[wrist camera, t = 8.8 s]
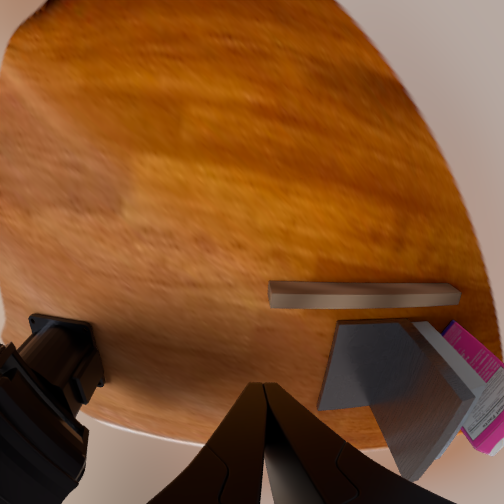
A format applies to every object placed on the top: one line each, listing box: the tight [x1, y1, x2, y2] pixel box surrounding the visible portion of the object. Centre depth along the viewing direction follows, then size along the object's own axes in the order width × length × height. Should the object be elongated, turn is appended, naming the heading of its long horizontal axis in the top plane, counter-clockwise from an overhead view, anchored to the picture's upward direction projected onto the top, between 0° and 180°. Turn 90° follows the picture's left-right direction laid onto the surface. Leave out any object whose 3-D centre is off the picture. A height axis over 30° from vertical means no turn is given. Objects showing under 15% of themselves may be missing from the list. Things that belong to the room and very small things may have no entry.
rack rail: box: [268, 281, 461, 309], centre depth 20 cm, size 15×1×2 cm, turn 87°
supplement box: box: [440, 320, 504, 456], centre depth 18 cm, size 6×6×12 cm
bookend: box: [317, 318, 476, 482], centre depth 18 cm, size 6×9×10 cm
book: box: [411, 321, 487, 460], centre depth 19 cm, size 2×8×9 cm, turn 176°
